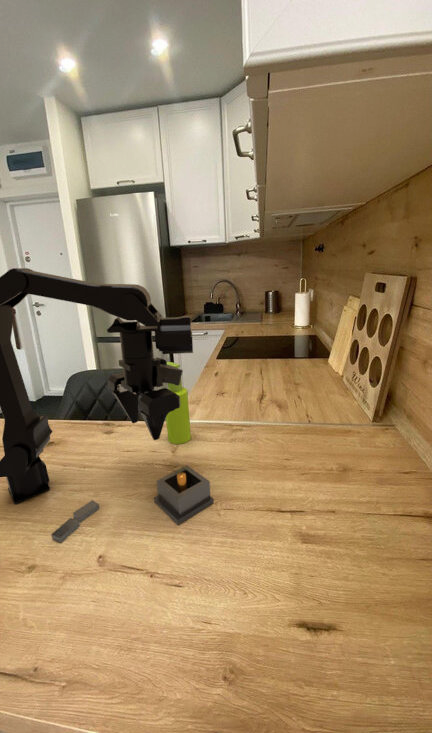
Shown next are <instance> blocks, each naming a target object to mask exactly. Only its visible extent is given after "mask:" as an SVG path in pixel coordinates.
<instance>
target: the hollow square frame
mask: <svg viewBox="0 0 432 733" xmlns="http://www.w3.org/2000/svg"><path fill="white" fill-rule="evenodd" d="M181 472H183V473H185V474H186V484H187V485H188V486H189V487H190V488H189V489H187V490H185V491H183V492H182V493H180V494H179V493H178V492H177V490H178V482H177V474H178V473H181ZM210 484H211V483H210V480H209V479H207V478H206V477H204V476H203V475H201V474H200V473H199V472H198V471H196V470H194V469H193V468H191V466H189V465H187V464H186V465H184V466H183V467H181V468H179V469H177V470H174V471H173V472H170V473H169V474H167V475H165V476H163V477H160V478H159V479H157V480H156V488H157V495H158V497H159V498H160V499H161V500H162V501H163V502H164V503H165V504H166V505H168V506H169V507H170V508H171V509H172V510H173V511H174V512H175V513H176V514H177V515H178V516H179V517H180V516H181V515H183V514H185V513H186V512H188V511H189V510H191V509H193V508H194V507H196V506H198V505H199V504H201V503H202V502H204V501H206V500H207V499H209V498H210V496H211V486H210Z"/></svg>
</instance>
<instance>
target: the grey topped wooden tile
mask: <svg viewBox="0 0 432 733" xmlns="http://www.w3.org/2000/svg"><path fill="white" fill-rule="evenodd" d="M99 510H101V509H100V504H99V503H98V502H96V501H95V500H93V499H92V500H90V501H89V502H87V503H86V504H84V505H83V506H81V507H80V508H77V510H75V511H74V512H73V511H72V512H73V513H72V515H73V519H75V520H78V521H79V523H81V522H83V521H85V520H86V519H88V517H90V516H92V515H93V514H95V513H96V512H97V511H99Z"/></svg>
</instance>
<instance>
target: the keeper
mask: <svg viewBox="0 0 432 733" xmlns="http://www.w3.org/2000/svg"><path fill="white" fill-rule="evenodd" d="M177 482H178V490H177V492H178V493H179V494H180V493H182V492H183V491H185V490H187V489H189V488H190V487H189V486H188V485H187V484H186V474H185V473H183V472H181V473H178V474H177ZM214 499H215V498H214V497H212V496H211V495H210V498H209V499H207V500H206V501H204V502H202V503H201V504H199V505H198V506H196V507H194V508H193V509H191V510H189V511H188V512H186V513H185V514H183V515H181V516H180V517H179V516H178V515H177V514H176V513H175V512H174V511H173V510H172V509H171V508H170V507H169V506H168V505H166V504H165V503H164V502H163V501H162V500H161V499H160V498H159V497H158V494H157V495H155V496H154V497H153V502H154V503H155V504H156V505H157V506H158V508H160V510H162V511H163V512H164V513H165V514H166V515H167V516H168V517H169V518H170V519H171V520H172V521H173V522H175V523H176V525H177V526H180V525H181V524H182V523H184V522H186V521H187V520H189V519H191V518H192V517H193V516H195V515H197V514H199V513H200V512H202V511H203V510H205V509H206V508H208V507H210V506H211V505H213V504H214Z"/></svg>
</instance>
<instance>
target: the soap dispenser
mask: <svg viewBox="0 0 432 733" xmlns="http://www.w3.org/2000/svg"><path fill="white" fill-rule="evenodd" d="M166 362H167V365H170V366H174V367H176V368H179V369H180V367H181V365H180V364H178V363H176V362H172V361H166ZM167 389H168V390H170V391H172V392H174V393H176V394H177V395H179V396H180V408H177V409H175V410H174V411H171V412H169V413H168V414H167V416H166V418H165V422H166V433H167V441H168V442H169V443H171V444H174V445H182V444H185V443H187V442H189V441H190V440H191V438H192V436H191V435H192V433H191V421H190V408H189V394H188V389H187V388H186V387H183V382H182V379H181V380H180V384H179V385H175V384H170V383H167Z"/></svg>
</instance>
